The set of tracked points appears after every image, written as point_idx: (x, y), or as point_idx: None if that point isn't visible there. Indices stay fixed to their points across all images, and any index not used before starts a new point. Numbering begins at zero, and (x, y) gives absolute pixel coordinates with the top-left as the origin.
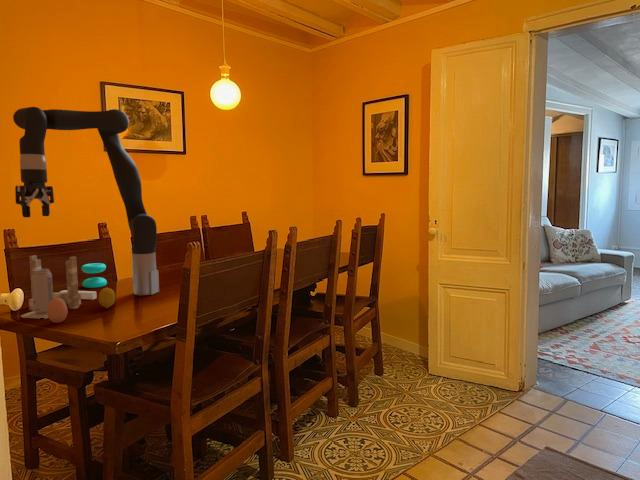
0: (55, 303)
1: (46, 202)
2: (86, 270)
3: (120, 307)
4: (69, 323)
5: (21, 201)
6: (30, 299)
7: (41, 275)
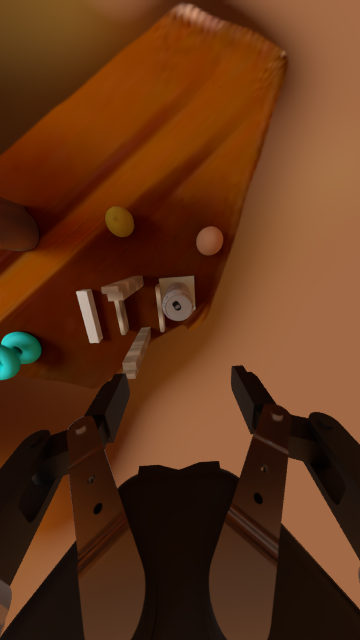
0: (221, 234)
1: (99, 436)
2: (18, 360)
3: None
4: (206, 224)
5: (343, 432)
6: (163, 329)
7: (189, 295)
